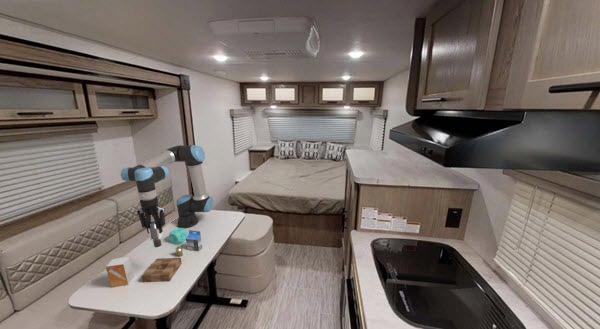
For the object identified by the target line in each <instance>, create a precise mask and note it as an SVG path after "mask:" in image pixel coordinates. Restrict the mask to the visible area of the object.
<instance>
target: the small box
mask: <svg viewBox="0 0 600 329" xmlns="http://www.w3.org/2000/svg"><path fill="white" fill-rule="evenodd" d="M105 268H106V272H107V276H108V280H109V284H110V288H115V287H122V286H128V285H130V283H131V282H132V281H133V279H134V277H135V274H134V270H133V267H132V262H131V257H130V256H125V257H117V258H112V259H111V260H110V261H109V262H108V263H107V265H106V266H105Z"/></svg>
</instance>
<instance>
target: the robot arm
mask: <svg viewBox="0 0 600 329" xmlns="http://www.w3.org/2000/svg"><path fill="white" fill-rule="evenodd" d="M205 160H206V154H205V150H204V148H203V147H202V146H200V145H198V144H197V145H196V144H195V145H194V144H193V145H190V144H189V145H186V144H185V145H181V144H180V145H175V146H171V147H169V148H167V149H164V150H162V151H161V153H160V154H158V155H156V156H154V157H152V158H150V159H148V160H146V161H145V160H144V161H143V162H142V163H138V165H135V166H133V167H125V168H122V169H121V171H120V177H121V179H122V181H125V182H130V183H131V182H135V185H136V189H137V193H138V197H139V204H140V207H141V208H139V209H138V210H136V213H137V215H138V218H139V220H140V225H141V227H142V228H144V229H146V232H147V234H148V235H149V239H150V240H152V241H153V238H152V233H151V228H150V222H152V218H153V219H154V220H153V221H155V223H156V225H157V228H156V231H157V236H158V239H162V238H163V231H164V230H163V228H164V226H165V225H166V216H165V211H166V208H165V207H163V208H162V207H161V206H160V205H159V200H158V192H157V190H156V184H157V183H158V182H161V181H163V180H164V179H166V178H168V176H169V175H170V171H169V169H168V167H167V164H169V165H170V164H173V163H176V162H177V163H178V162H179V163H181V162H182V163H183V162H184V163H185V166H186V167H188V171H189V176H190V181H191V185H192V189H193V190H192V191H193V194H194V195H192V194H184V195H181V196H180V197H178V198H177V199H176V200H175V201H176V207H177V214H178V218H177V223H176V224H177V228H183V229H188V228H191V227H194V226H196V225H198V223H199V222H200V221H199V218H198V215H197V214H196V213H208V212H210V211H211V210H212V209H213V205H214V198H213V197H211V196H210V194H209V193H208V192H207V189H206V184H205V183H206V182H205V179H204V173H203V168H202V167H203V166H202V165H203V163H204V161H205Z"/></svg>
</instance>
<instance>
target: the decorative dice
mask: <svg viewBox="0 0 600 329" xmlns="http://www.w3.org/2000/svg"><path fill="white" fill-rule="evenodd" d="M187 236H188V232H187V231H186V228H179V227H177V228H174V229H172V230H171V231H170V232H169V235H168V239H169V241H170V243H172V244H174V245H178V244H179V245H180V244H182V243H184V242H186V237H187Z"/></svg>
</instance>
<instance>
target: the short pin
mask: <svg viewBox="0 0 600 329" xmlns="http://www.w3.org/2000/svg"><path fill="white" fill-rule="evenodd" d="M175 254H176V258H181V257H182V256H183V255H184V254H183V249H182V246H176V247H175Z"/></svg>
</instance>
